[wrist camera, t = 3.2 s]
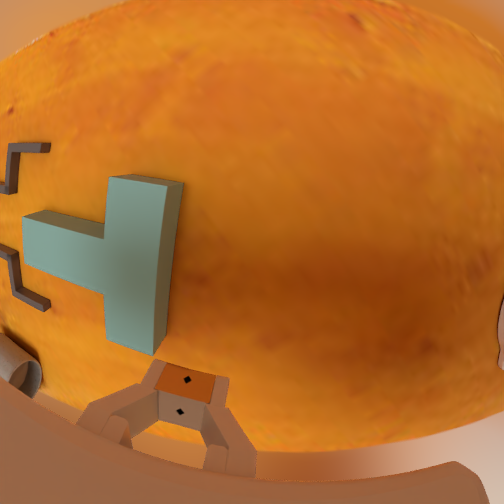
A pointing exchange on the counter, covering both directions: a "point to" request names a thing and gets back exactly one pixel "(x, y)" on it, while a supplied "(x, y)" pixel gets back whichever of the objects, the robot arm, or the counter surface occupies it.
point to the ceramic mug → (19, 367)
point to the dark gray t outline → (6, 252)
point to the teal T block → (116, 255)
